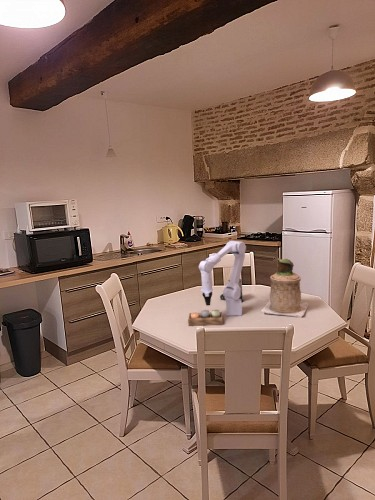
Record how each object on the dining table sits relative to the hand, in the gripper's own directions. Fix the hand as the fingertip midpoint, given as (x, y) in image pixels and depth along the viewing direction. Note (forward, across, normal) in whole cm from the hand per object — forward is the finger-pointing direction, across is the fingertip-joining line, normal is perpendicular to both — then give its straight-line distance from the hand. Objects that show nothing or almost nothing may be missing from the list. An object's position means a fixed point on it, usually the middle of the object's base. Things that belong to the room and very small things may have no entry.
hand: (208, 305), depth 200 cm
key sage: (+7, 0, +4) cm, 8 cm away
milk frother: (+10, -38, +14) cm, 42 cm away
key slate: (+7, 0, -2) cm, 7 cm away
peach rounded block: (+8, 0, -8) cm, 12 cm away
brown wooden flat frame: (+10, 0, -2) cm, 10 cm away
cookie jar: (+10, -16, +46) cm, 50 cm away
